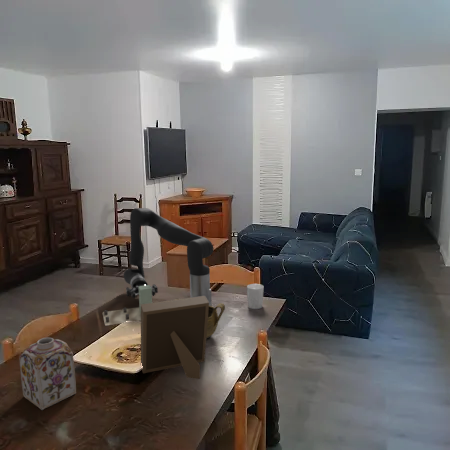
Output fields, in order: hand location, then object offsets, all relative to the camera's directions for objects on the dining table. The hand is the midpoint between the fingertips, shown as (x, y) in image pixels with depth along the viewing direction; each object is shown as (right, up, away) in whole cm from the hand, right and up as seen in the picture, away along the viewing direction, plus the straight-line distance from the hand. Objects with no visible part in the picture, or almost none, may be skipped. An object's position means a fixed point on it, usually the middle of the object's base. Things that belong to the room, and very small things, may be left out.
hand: (144, 295), depth 196 cm
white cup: (+51, -7, +9) cm, 52 cm away
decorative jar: (-17, -21, -64) cm, 69 cm away
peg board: (-5, -10, -4) cm, 11 cm away
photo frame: (+21, -18, -50) cm, 57 cm away
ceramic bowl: (+26, -13, -24) cm, 38 cm away
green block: (+1, -8, -2) cm, 8 cm away
